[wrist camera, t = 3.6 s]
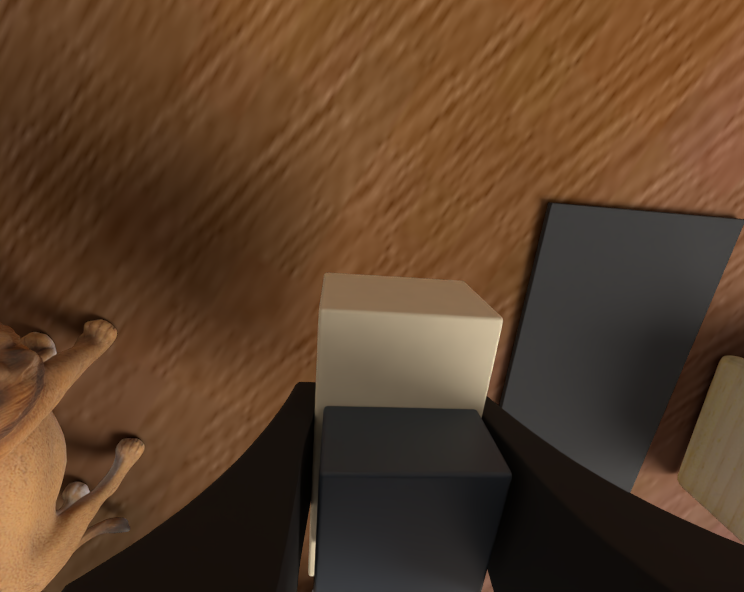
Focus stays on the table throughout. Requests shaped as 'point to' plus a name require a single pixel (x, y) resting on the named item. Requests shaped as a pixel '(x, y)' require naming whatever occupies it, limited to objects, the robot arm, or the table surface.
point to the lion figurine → (47, 458)
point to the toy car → (403, 437)
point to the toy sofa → (719, 448)
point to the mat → (611, 328)
